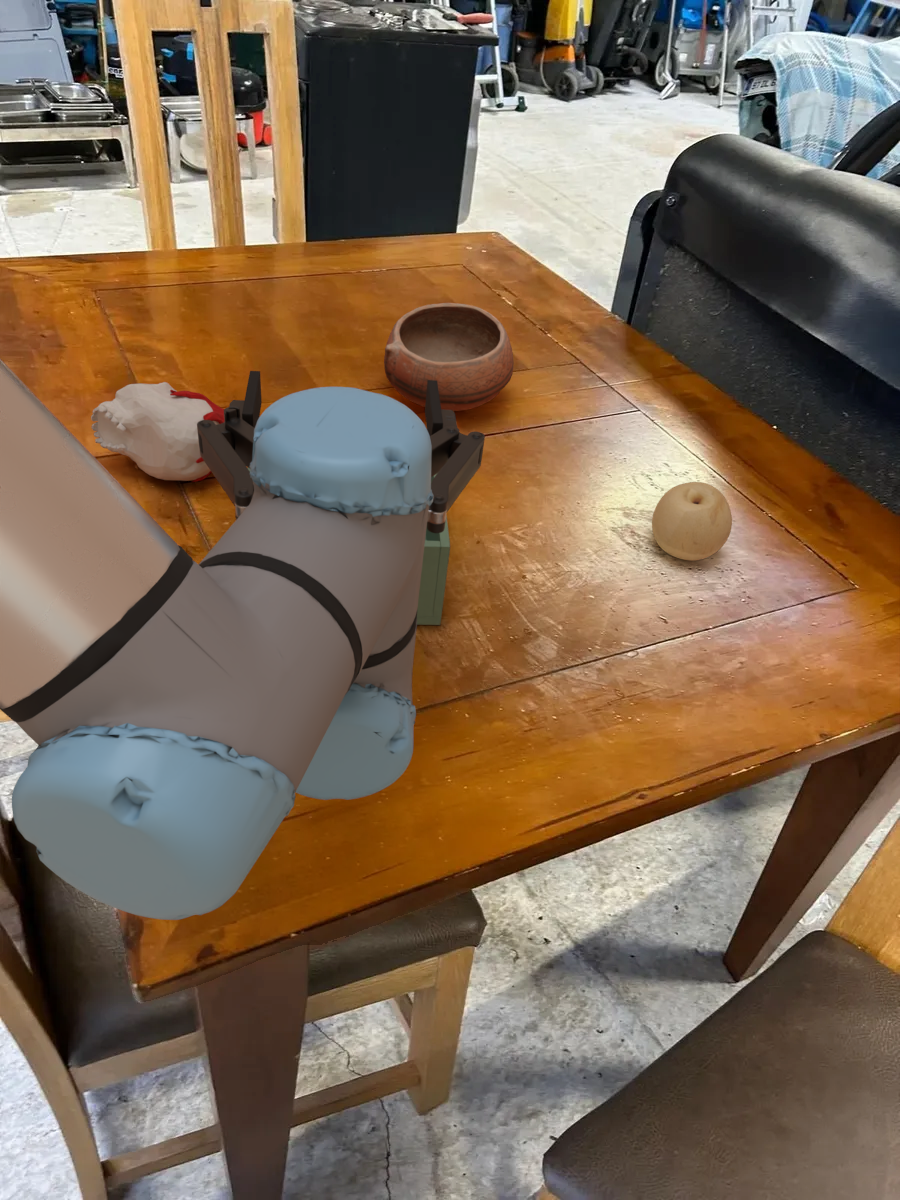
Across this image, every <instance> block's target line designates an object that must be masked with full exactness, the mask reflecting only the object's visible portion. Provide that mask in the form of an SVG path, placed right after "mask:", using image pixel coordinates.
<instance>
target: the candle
mask: <svg viewBox="0 0 900 1200" xmlns="http://www.w3.org/2000/svg"><path fill="white" fill-rule="evenodd" d="M224 409H225V408H223V407H221V406H219V405H217V404H216V403H215V402H214V401H212V400H210V398H209V397H208V396H206V395H205V394H203V393H200V392H195V391H190V390H178V391H177V390H176V389H175V388H173V387H172V386H171V385H170V383H168V382H166V381H163V382H159V383H141V382H140V383H131V384H130V383H129V384H127V385H125V386H123V387H122V388H119V389H118V390H116V392H115V398H113V399H112V400H108V401H107V400H106V401H103V402H101V403H99V404H98V406H96V407H95V408H93V410H92V415H91V416H90V420H91V422H94V423H92V425H91V430H92V432H93V431H94V432H93V437H95V439H94V442H95V444H99V445H100V447H101V448H102V449H106V450H108V451H110V452H112V453H118V454H120V455H122V456H126V457H129V459H131V461H133V462H134V463H135V464H136V465H137V467H138V468H139V469H140V470H142V471H143V472H144V473H145V474H147V475H149V476H151V477H154V478H155V479H158V480H164V481H183V482H187V481H188V482H189V481H191V483H194V482H195V483H196V482H201V481H203V480H205V479H206V478H207V477H209V476H210V475H211V474H213V473H212V472H211V470H210V469H209V467H208V466H207V464H206V463H205V462H204V460H203V459H202V457H201V456H200V449H199V440H198V430H197V423H198V422H199V421H202V420H211V421H213V422H214V423H215V424H216V425H217V424H221V423H224V422H225V421H224Z"/></svg>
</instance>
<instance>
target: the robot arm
mask: <svg viewBox="0 0 900 1200" xmlns="http://www.w3.org/2000/svg"><path fill="white" fill-rule="evenodd" d="M248 374H249V375H248V380H247V385H246V390H245V391H246V392H245V396H244V400H242V399H232V401H231V402H229V405H228V407H225V408H223V409H224V421H225V422H224V423H221V424H217V425H216V424H215V423H214V422H213V421H211V420H202V421H199V422H198V423H197V430H198V440H199V449H200V456H201V457H202V459H203V460H204V462H205V463H206V464H207V466H208V467H209V469H210V470H211V472H212V473H211V474H212V475H213V477H214V478H215V479H216V481H217V483H218V484H219V485H220V487H221V488H222V490H223V491H224V492H225V495H227V497H228V499H229V500H230V501H231V503H232V504H233V506H234V512H235V513H234V514H235V521H233V523H232V524H231V525H230V526H229V528H228V529H227V530H226V531H225V533H223V535H222V536H221V537H220V538H219V539H218V541H217V542H216V543H215V545H214V546H213V547H212V548H211V549H210V550H209V551H208V553H207V554H206V555H205V556H204V557H203V559H202V560H201V561H200V562H199V563H197V562H196V561H195V560H194V559H193V558H192V556H191V555H189V553H188V552H187V551H186V550H184V549H185V548H183V547H182V546H181V545H179V544H178V543H177V542H176V541H175V540H174V539H173V538H172V537H171V536H170V535H169V534H168V533H167V532H166V530H164V529H163V528H162V526H161V525H160V524H159V523H158V522H157V521H156V520H155V519H154V518H153V516H151V515H150V514H149V513H148V511H147V510H145V508H143V506H141V504H140V503H139V502H138V501H137V500H136V499H135V498H134V497H133V496H132V495H131V493H129V492H128V490H126V489H125V488H124V486H123V485H122V484H121V483H120V482H119V481H118V480H117V479H116V478H115V477H114V476H113V475H112V474H111V473H110V472H109V471H108V470H107V469H106V468H105V466H104V465H102V463H101V462H100V461H99V460H98V459H97V458H96V457H95V456H94V455H93V454H92V453H91V451H89V450H88V449H87V448H86V446H84V445H83V443H82V442H81V441H80V440H79V439H78V438H77V437H76V436H75V435H74V434H73V433H72V432H71V431H70V429H68V428H67V426H65V425H64V423H63V422H62V421H61V420H60V419H59V418H58V417H57V416H56V414H54V413H53V412H52V411H51V410H50V409H49V408H48V407H47V406H46V404H45V403H43V402H42V400H41V399H40V398H39V397H38V396H37V395H36V394H35V393H34V391H32V390H31V388H29V387H28V385H26V384H25V383H24V381H23V380H22V379H21V378H20V377H19V376H18V375H17V374H16V373H15V372H14V371H13V370H12V369H11V368H10V367H9V366H8V365H7V364H6V362H5V361H3V360H2V358H0V711H1V712H3V713H4V715H6V717H8V718H10V719H11V720H12V721H13V722H14V723H16V724H17V725H18V727H20V729H21V730H22V731H23V732H24V733H25V734H26V735H27V736H28V737H29V738H30V739H31V740H32V741H33V742H35V744H37V747H36V749H34V751H33V752H32V753H30V755H29V756H28V760H27V766H26V767H25V769H24V770H23V772H22V773H21V774H20V775H19V777H18V779H17V780H16V783H15V785H14V787H13V790H12V794H11V810H12V816H13V821H14V824H15V826H16V829H17V831H18V832H19V833H20V834H21V835H22V837H23V838H24V840H25V841H27V842H29V843H30V844H32V845H34V846H35V847H36V853H37V856H38V859H39V861H40V862H41V863H42V864H43V865H44V866H46V867H47V868H48V869H49V870H50V871H51V872H53V873H54V875H56V876H57V877H59V878H60V879H61V880H63V881H64V882H65V883H67V884H68V885H70V886H71V887H73V888H75V889H76V890H77V891H79V892H80V893H82V894H84V895H86V896H88V897H90V898H92V899H93V900H96V901H98V902H100V903H102V904H104V905H107V906H109V907H110V908H113V909H116V910H119V911H122V912H125V913H127V914H132V915H135V916H138V917H142V918H143V917H144V918H149V919H154V920H163V921H164V920H167V921H168V920H169V921H178V920H179V921H180V920H183V919H186V918H189V917H192V916H195V915H196V916H203V915H205V914H208V913H211V912H214V911H216V910H217V909H219V908H220V907H222V906H223V905H224V904H226V903H227V902H228V901H229V900H230V899H231V898H232V897H233V896H234V895H235V894H236V893H237V891H238V890H239V889H240V887H241V885H242V884H243V883H244V881H245V879H246V877H247V876H248V875H249V874H250V872H251V870H252V868H253V867H254V865H255V864H256V862H257V861H258V859H259V857H260V856H261V854H262V853H263V851H264V850H265V848H266V847H267V845H268V844H269V842H270V841H271V839H272V837H273V836H274V834H275V833H276V831H278V828H279V827H280V826H281V824H282V822H283V821H284V819H285V817H288V816H289V814H290V813H291V811H292V809H293V808H294V806H295V800H296V794H299V795H300V796H304V797H307V798H311V799H316V800H323V801H328V800H329V801H330V800H345V801H348V800H349V801H350V800H356V799H360V798H365V797H368V796H371V795H374V794H377V793H379V792H380V791H382V790H384V789H387V788H388V787H390V786H391V785H393V784H394V783H395V782H396V781H398V779H400V777H401V776H402V775H404V773H405V772H406V770H407V768H408V767H409V765H410V763H411V761H412V757H413V754H414V748H415V747H414V746H415V745H414V738H415V737H414V728H415V727H414V725H415V723H416V717H417V710H416V705H414V704H413V703H414V702H413V670H414V669H413V667H414V657H415V648H416V640H417V639H416V638H417V627H418V625H417V608H418V599H419V590H420V581H421V572H422V563H423V554H424V545H425V536H426V527H427V529H428V530H429V531H430V532H432V533H441V532H443V531H444V529H445V521H446V514H447V513H448V511H449V510H450V509H451V508H452V506H453V505H454V503H455V502H456V501H457V499H458V498H459V496H460V495H461V493H462V492H463V491H464V490H465V488H466V487H467V485H468V484H469V483H470V481H471V480H472V479H473V477H474V476H475V474H477V472H478V470H479V469H480V468H481V466H482V461H483V460H482V459H483V453H484V452H483V451H484V446H485V438H486V436H485V434H484V433H483V432H481V431H470V432H469V433H468V434H464V433H462V432H461V431H460V429H459V428H458V423H457V418H456V417H457V416H456V413H455V411H452V410H443V409H441V404H440V397H439V390H438V383H437V380H427V392H426V403H425V407H424V415H425V422H423V421H422V419H421V418H420V417H419V416H418V415H417V414H416V413H415V412H414V411H413V410H412V409H411V408H409V407H408V406H407V405H406V404H404V403H402V402H400V401H399V400H397V399H395V398H393V397H391V396H388V395H385V394H382V393H378V392H373V391H368V390H365V389H360V388H357V387H350V386H320V387H313V388H308V389H303V390H300V391H296V392H292V393H289V394H288V395H285V396H283V397H281V398H278V399H277V400H275V401H274V402H273V403H271V404H270V405H269V406H268V407H266V408H265V409H264V411H262V413H261V409H262V403H263V401H262V382H261V381H262V380H261V371H260V370H249V373H248ZM248 468H249V469H250V471H249V470H248ZM436 474H437V475H436ZM434 475H436V476H435V477H434V479H433V481H432V483H431V477H433V476H434Z"/></svg>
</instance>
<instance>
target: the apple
mask: <svg viewBox="0 0 900 1200" xmlns="http://www.w3.org/2000/svg"><path fill="white" fill-rule="evenodd" d="M732 526H733V516H732V511H731V507H730V505H729V502H728V500H727V498H726V497H725V495H724V494H723V493H722V492H721V491H720V490H719V489H718V488H716V487H715V486H713V485H712V484H709V483H706V482H701V481H691V482H683V483H680V484H678V485H677V484H676V485H675V486H673V487H671V488H670V489H668V490H667V491H666V492H665V493H664V494H663V495H662V496H661V498H660V499H659V500H658V502H657V504H656V506H655V508H654V511H653V513H652V519H651V530H652V534H653V537H654V540H655V541H656V543H657V545H658V547H660V549H662V551H664V553H666V554H668V555H670V556H671V557H673V558H677V559H679V560H684V561H701V560H704V559H707V558H709V557H711V556H712V555H715V554H716V553H717V552H718V551H720V550H721V549H722V548H723V546H725V544H726V543H727V541H728V539H729V537H730V534H731V531H732Z"/></svg>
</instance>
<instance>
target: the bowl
mask: <svg viewBox="0 0 900 1200" xmlns="http://www.w3.org/2000/svg"><path fill="white" fill-rule="evenodd" d="M383 359H384V361H383V365H384V372H385V377H386V379H387V381H388V383H389V384H390V385H391V386H392V388H393V389H395V391H396V392H398V393H399V394H400V395H401V396H402V397H403V398H404V399H406V400H408V401H410V402H412V403H414V404H416V405H418V406H420V407H423V408H425V403H426V392H427V380H437V383H438V390H439V397H440V404H441V409H443V410H452V411H453V412H461V411H467V410H472V409H475V408H478V407H481V406H483V405H484V404H486V403H488V402H490V401H492V400H493V399H495V398H496V397H497V396H498V395H499V394H500V391H502V390H503V389H504V388H505V387H506V386H507V385H508V384H509V383H510V382H511V380H512V377H513V373H514V366H515V365H514V364H515V363H514V361H515V360H514V352H513V348H512V344H511V340H510V337H509V335H508V331H507V330H506V329H505V327H504V325H503V323H502V322H501V321H500V320H499V319H498V318H497V317H496V316H494V315H493V314H492V313H490V312H489V311H487V310H485V309H483V308H481V307H479V306H475V305H472V304H471V305H470V304H467V303H455V302H442V303H431V304H426V305H421V306H418V307H416V308H414V309H412V310H411V311H408V312H406V313H405V314H404V315H402V316H401V317H400V318H399V319H398V320H397V321H396V322H395V324H394V325H393V328H392V329H391V330H390V333H389V336H388V338H387V341H386V345H385V348H384V358H383Z"/></svg>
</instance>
